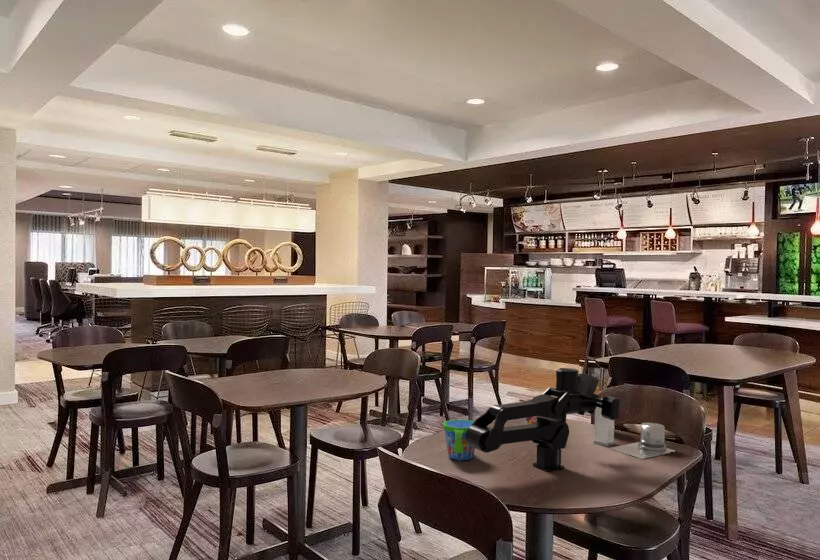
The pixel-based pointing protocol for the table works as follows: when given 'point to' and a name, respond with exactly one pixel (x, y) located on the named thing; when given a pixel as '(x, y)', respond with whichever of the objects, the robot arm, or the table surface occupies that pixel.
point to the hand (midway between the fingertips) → (610, 400)
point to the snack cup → (458, 439)
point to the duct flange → (647, 443)
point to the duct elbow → (603, 429)
